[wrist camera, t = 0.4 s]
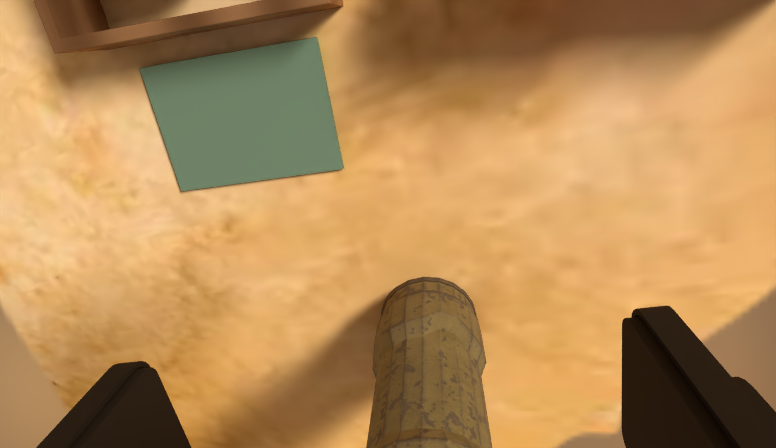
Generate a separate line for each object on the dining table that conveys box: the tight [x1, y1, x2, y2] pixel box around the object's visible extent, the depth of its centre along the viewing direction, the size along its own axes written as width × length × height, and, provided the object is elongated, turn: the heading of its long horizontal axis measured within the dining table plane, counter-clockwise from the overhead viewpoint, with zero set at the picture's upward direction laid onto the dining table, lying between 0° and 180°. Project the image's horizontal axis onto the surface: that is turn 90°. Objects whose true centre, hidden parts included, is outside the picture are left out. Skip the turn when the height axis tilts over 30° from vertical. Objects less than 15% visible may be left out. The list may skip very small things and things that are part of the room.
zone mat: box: [139, 37, 344, 191], centre depth 37 cm, size 10×14×1 cm
